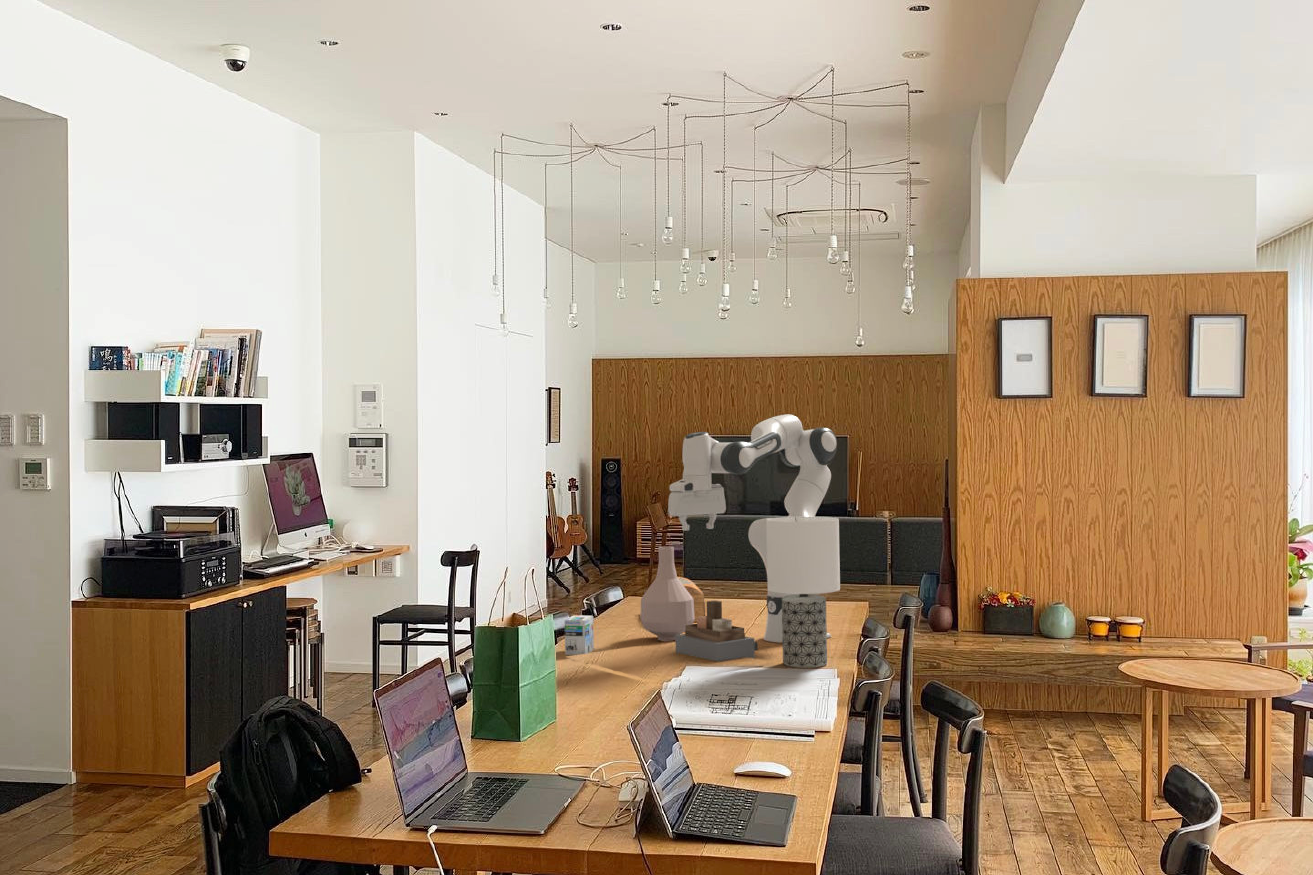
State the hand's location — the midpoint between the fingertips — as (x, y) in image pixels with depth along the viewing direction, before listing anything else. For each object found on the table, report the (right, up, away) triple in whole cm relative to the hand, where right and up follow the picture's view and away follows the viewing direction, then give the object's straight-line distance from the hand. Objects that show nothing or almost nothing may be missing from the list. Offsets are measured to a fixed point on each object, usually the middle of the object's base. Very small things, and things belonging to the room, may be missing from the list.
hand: (698, 529), depth 362 cm
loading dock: (+5, -37, -12) cm, 39 cm away
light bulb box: (-37, -38, 0) cm, 53 cm away
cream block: (+7, -30, -15) cm, 34 cm away
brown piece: (+4, -31, -12) cm, 34 cm away
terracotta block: (+2, -30, -9) cm, 31 cm away
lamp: (+30, -37, -26) cm, 54 cm away
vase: (-9, -38, +20) cm, 44 cm away
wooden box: (-4, -38, +65) cm, 75 cm away
